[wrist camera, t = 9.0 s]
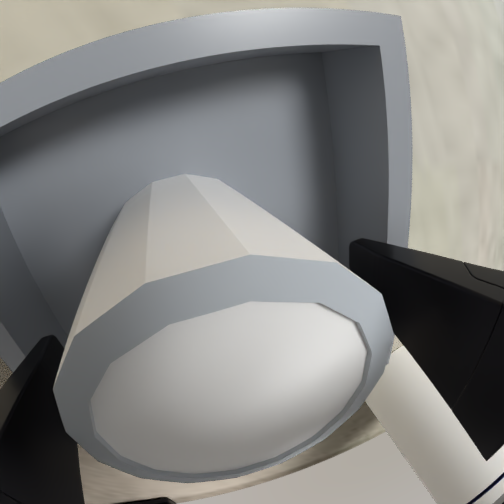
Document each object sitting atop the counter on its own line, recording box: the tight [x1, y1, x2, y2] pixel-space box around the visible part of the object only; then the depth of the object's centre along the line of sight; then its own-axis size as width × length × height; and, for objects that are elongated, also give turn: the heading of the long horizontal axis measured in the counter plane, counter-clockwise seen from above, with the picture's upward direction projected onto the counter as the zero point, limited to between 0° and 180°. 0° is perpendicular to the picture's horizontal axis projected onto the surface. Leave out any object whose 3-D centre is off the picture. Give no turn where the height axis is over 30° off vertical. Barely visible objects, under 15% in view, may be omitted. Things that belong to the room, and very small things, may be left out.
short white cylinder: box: [53, 174, 394, 483], centre depth 8 cm, size 7×7×7 cm
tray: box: [0, 8, 412, 372], centre depth 10 cm, size 14×14×4 cm
